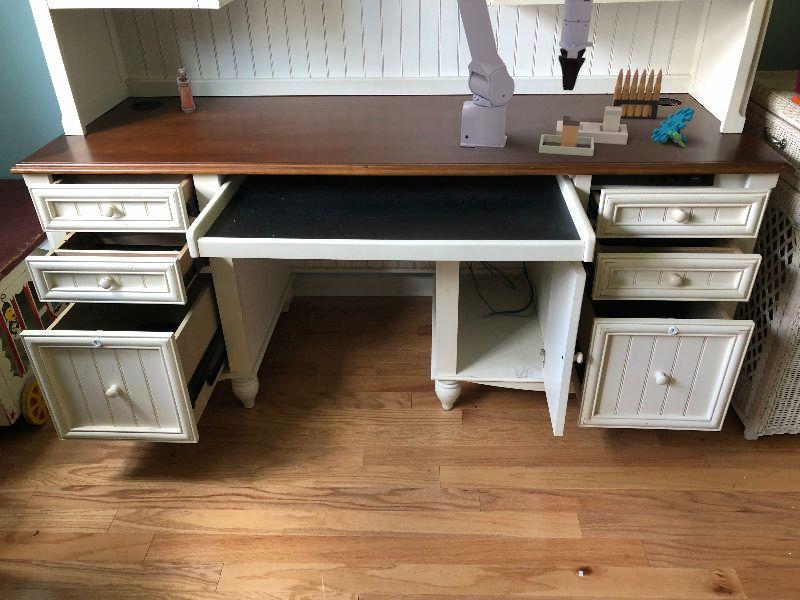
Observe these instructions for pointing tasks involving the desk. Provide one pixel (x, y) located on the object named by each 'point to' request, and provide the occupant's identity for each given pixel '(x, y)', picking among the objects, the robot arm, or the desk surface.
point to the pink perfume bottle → (185, 91)
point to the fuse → (612, 118)
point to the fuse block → (598, 132)
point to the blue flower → (674, 126)
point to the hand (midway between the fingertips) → (568, 85)
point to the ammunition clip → (638, 95)
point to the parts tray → (566, 149)
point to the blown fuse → (570, 131)
